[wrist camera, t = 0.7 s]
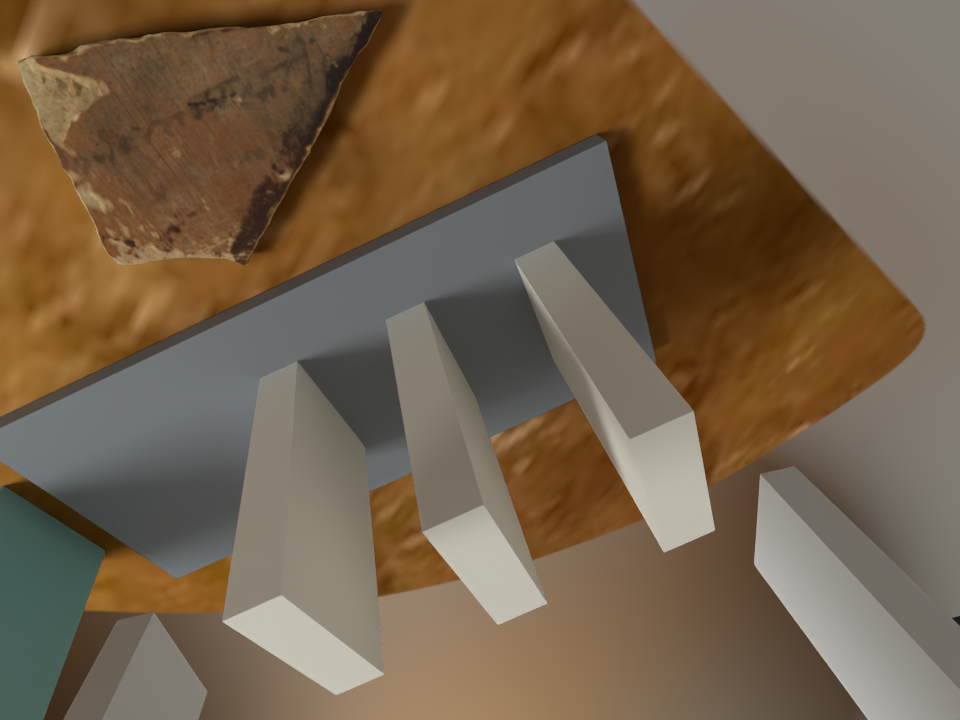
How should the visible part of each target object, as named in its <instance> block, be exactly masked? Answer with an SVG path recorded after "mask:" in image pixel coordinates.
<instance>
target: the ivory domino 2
mask: <svg viewBox="0 0 960 720" xmlns="http://www.w3.org/2000/svg"><path fill="white" fill-rule="evenodd" d="M386 324H387V330H388V336H389V342H390V348H391V353H392V359H393V365H394V371H395V377H396V383H397V388H398V394H399V400H400V406H401V412H402V417H403V423H404V429H405V435H406V441H407V447H408V452H409V458H410V464H411V470H412V476H413V482H414V487H415V493H416V499H417V505H418V511H419V516H420V522H421V528H422V533H423V534H424V535H425V536H426V537H427V539H428V540H429V541H430V542H431V544H432V545H433V546H434V547H435V548H436V550H437V551H438V552H439V553H440V555H441V556H442V557H443V558H444V559H445V561H446V562H447V563H448V564H449V566H450V567H451V568H452V569H453V571H454V572H455V573H456V574H457V575H458V577H459V578H460V579H461V580H462V582H463V583H464V584H465V585H466V586H467V588H468V589H469V590H470V591H471V593H472V594H473V595H474V596H475V597H476V599H477V600H478V601H479V602H480V603H481V605H482V606H483V607H484V608H485V610H486V611H487V612H488V613H489V615H490V616H491V617H492V618H493V620H494V621H495V622H496V623H497V624H498V625H499V624H501V623H503V622H505V621H508V620H510V619H512V618H515V617H517V616H519V615H521V614H524V613H526V612H529V611H531V610H533V609H535V608H538V607H540V606H542V605H545V604H547V601H546V599H545V596H544V593H543V590H542V587H541V584H540V581H539V579H538V576H537V573H536V570H535V567H534V564H533V561H532V558H531V555H530V552H529V550H528V547H527V544H526V541H525V538H524V535H523V532H522V529H521V527H520V524H519V521H518V518H517V515H516V512H515V509H514V506H513V504H512V501H511V498H510V495H509V492H508V489H507V486H506V483H505V481H504V478H503V475H502V472H501V469H500V466H499V463H498V461H497V458H496V455H495V452H494V449H493V446H492V443H491V440H490V438H489V435H488V432H487V429H486V426H485V423H484V420H483V417H482V415H481V412H480V409H479V406H478V403H477V400H476V397H475V395H474V393H473V391H472V390H471V388H470V386H469V384H468V382H467V380H466V378H465V377H464V375H463V373H462V371H461V369H460V367H459V366H458V364H457V362H456V360H455V358H454V356H453V354H452V353H451V351H450V349H449V347H448V345H447V343H446V342H445V340H444V338H443V336H442V334H441V332H440V330H439V329H438V327H437V325H436V323H435V321H434V319H433V318H432V316H431V314H430V312H429V310H428V308H427V306H426V305H425V303H424V302H423V303H421V304H418V305H416V306H414V307H412V308H410V309H408V310H406V311H403V312H401V313H399V314H397V315H395V316H393V317H391V318H388V319H386Z"/></svg>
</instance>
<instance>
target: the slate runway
mask: <svg viewBox="0 0 960 720" xmlns="http://www.w3.org/2000/svg"><path fill="white" fill-rule="evenodd" d="M553 241H554V242H555V243H556V245H557V246H558V247H559V248H560V250H561V251H562V252H563V253H564V254H565V256H566V257H567V258H568V259H569V260H570V262H571V263H572V264H573V265H574V267H575V268H576V269H577V270H578V271H579V273H580V274H581V275H582V276H583V277H584V279H585V280H586V281H587V282H588V284H589V285H590V286H591V287H592V288H593V290H594V291H595V292H596V293H597V294H598V296H599V297H600V298H601V299H602V301H603V302H604V303H605V304H606V305H607V307H608V308H609V309H610V310H611V311H612V313H613V314H614V315H615V316H616V318H617V319H618V320H619V321H620V322H621V324H622V325H623V326H624V327H625V328H626V330H627V331H628V332H629V333H630V334H631V336H632V337H633V338H634V339H635V341H636V342H637V343H638V344H639V345H640V347H641V348H642V349H643V350H644V351H645V353H646V354H647V355H648V356H649V358H650V359H651V360H652V361H653V362H654V363H655V362H656V359H655V355H654V350H653V346H652V341H651V337H650V332H649V328H648V323H647V319H646V315H645V310H644V306H643V301H642V297H641V292H640V288H639V283H638V279H637V275H636V270H635V266H634V261H633V257H632V252H631V248H630V243H629V239H628V235H627V230H626V226H625V221H624V217H623V212H622V208H621V203H620V199H619V195H618V190H617V186H616V181H615V177H614V172H613V168H612V163H611V159H610V155H609V150H608V146H607V141H606V140H605V139H603V138H601V137H600V136H598V135H597V134H596V135H593V136H591V137H589V138H587V139H585V140H583V141H581V142H579V143H577V144H575V145H572V146H570V147H568V148H566V149H564V150H562V151H560V152H558V153H556V154H553V155H551V156H549V157H547V158H545V159H543V160H541V161H539V162H537V163H535V164H532V165H530V166H528V167H526V168H524V169H522V170H520V171H518V172H516V173H514V174H511V175H509V176H507V177H505V178H503V179H501V180H499V181H497V182H495V183H492V184H490V185H488V186H486V187H484V188H482V189H480V190H478V191H476V192H474V193H471V194H469V195H467V196H465V197H463V198H461V199H459V200H457V201H455V202H452V203H450V204H448V205H446V206H444V207H442V208H440V209H438V210H436V211H434V212H431V213H429V214H427V215H425V216H423V217H421V218H419V219H417V220H415V221H413V222H410V223H408V224H406V225H404V226H402V227H400V228H398V229H396V230H394V231H391V232H389V233H387V234H385V235H383V236H381V237H379V238H377V239H375V240H373V241H370V242H368V243H366V244H364V245H362V246H360V247H358V248H356V249H354V250H352V251H349V252H347V253H345V254H343V255H341V256H339V257H337V258H335V259H333V260H330V261H328V262H326V263H324V264H322V265H320V266H318V267H316V268H314V269H312V270H309V271H307V272H305V273H303V274H301V275H299V276H297V277H295V278H293V279H290V280H288V281H286V282H284V283H282V284H280V285H278V286H276V287H274V288H272V289H269V290H267V291H265V292H263V293H261V294H259V295H257V296H255V297H253V298H251V299H248V300H246V301H244V302H242V303H240V304H238V305H236V306H234V307H232V308H229V309H227V310H225V311H223V312H221V313H219V314H217V315H215V316H213V317H211V318H208V319H206V320H204V321H202V322H200V323H198V324H196V325H194V326H192V327H189V328H187V329H185V330H183V331H181V332H179V333H177V334H175V335H173V336H171V337H168V338H166V339H164V340H162V341H160V342H158V343H156V344H154V345H152V346H150V347H147V348H145V349H143V350H141V351H139V352H137V353H135V354H133V355H131V356H128V357H126V358H124V359H122V360H120V361H118V362H116V363H114V364H112V365H110V366H107V367H105V368H103V369H101V370H99V371H97V372H95V373H93V374H91V375H89V376H86V377H84V378H82V379H80V380H78V381H76V382H74V383H72V384H70V385H67V386H65V387H63V388H61V389H59V390H57V391H55V392H53V393H51V394H49V395H46V396H44V397H42V398H40V399H38V400H36V401H34V402H32V403H30V404H27V405H25V406H23V407H21V408H19V409H17V410H15V411H13V412H11V413H9V414H6V415H4V416H2V417H0V461H1V462H2V463H4V464H5V465H7V466H8V467H10V468H11V469H13V470H14V471H16V472H17V473H19V474H20V475H22V476H23V477H25V478H26V479H28V480H29V481H31V482H32V483H34V484H35V485H37V486H38V487H40V488H41V489H43V490H44V491H46V492H47V493H49V494H50V495H52V496H53V497H55V498H56V499H58V500H59V501H61V502H62V503H64V504H65V505H67V506H68V507H70V508H71V509H73V510H74V511H76V512H77V513H79V514H80V515H82V516H83V517H85V518H86V519H88V520H89V521H91V522H92V523H94V524H95V525H97V526H98V527H100V528H101V529H103V530H104V531H106V532H107V533H109V534H110V535H112V536H113V537H115V538H116V539H118V540H119V541H121V542H122V543H124V544H125V545H127V546H128V547H130V548H131V549H133V550H134V551H136V552H137V553H139V554H140V555H142V556H143V557H145V558H146V559H148V560H149V561H151V562H152V563H154V564H155V565H157V566H158V567H160V568H161V569H163V570H164V571H166V572H167V573H169V574H170V575H172V576H173V577H175V578H176V579H178V578H180V577H182V576H184V575H187V574H189V573H191V572H193V571H195V570H198V569H200V568H202V567H204V566H206V565H209V564H211V563H213V562H215V561H218V560H220V559H222V558H224V557H226V556H229V555H231V554H233V549H234V542H235V536H236V529H237V523H238V516H239V510H240V504H241V497H242V491H243V484H244V478H245V471H246V465H247V459H248V452H249V446H250V439H251V433H252V426H253V420H254V414H255V407H256V401H257V394H258V388H259V381H260V378H262V377H264V376H267V375H269V374H271V373H273V372H275V371H277V370H279V369H281V368H284V367H286V366H288V365H290V364H292V363H294V362H296V361H298V363H299V364H300V365H301V366H302V368H303V369H304V370H305V371H306V373H307V374H308V375H309V376H310V378H311V379H312V380H313V381H314V383H315V384H316V385H317V386H318V388H319V389H320V390H321V392H322V393H323V394H324V395H325V397H326V398H327V399H328V400H329V402H330V403H331V404H332V405H333V407H334V408H335V409H336V410H337V412H338V413H339V414H340V416H341V417H342V418H343V419H344V421H345V422H346V423H347V424H348V426H349V427H350V428H351V429H352V431H353V432H354V433H355V434H356V436H357V437H358V438H359V439H360V441H361V442H362V443H363V445H364V446H365V451H366V463H367V474H368V486H369V492H370V491H372V490H374V489H377V488H379V487H381V486H383V485H385V484H388V483H390V482H392V481H394V480H396V479H399V478H401V477H403V476H405V475H408V474H410V473H412V470H411V464H410V458H409V452H408V447H407V441H406V435H405V429H404V423H403V417H402V412H401V406H400V400H399V394H398V388H397V383H396V377H395V371H394V365H393V359H392V353H391V348H390V342H389V336H388V330H387V324H386V319H388V318H391V317H393V316H395V315H397V314H399V313H401V312H403V311H406V310H408V309H410V308H412V307H414V306H416V305H418V304H421V303H423V302H424V303H425V305H426V306H427V308H428V310H429V312H430V314H431V316H432V318H433V319H434V321H435V323H436V325H437V327H438V329H439V330H440V332H441V334H442V336H443V338H444V340H445V342H446V343H447V345H448V347H449V349H450V351H451V353H452V354H453V356H454V358H455V360H456V362H457V364H458V366H459V367H460V369H461V371H462V373H463V375H464V377H465V378H466V380H467V382H468V384H469V386H470V388H471V390H472V391H473V393H474V395H475V397H476V400H477V403H478V406H479V409H480V412H481V415H482V417H483V420H484V423H485V426H486V429H487V432H488V435H489V437H491V436H494V435H496V434H498V433H500V432H503V431H505V430H507V429H509V428H511V427H514V426H516V425H518V424H520V423H522V422H525V421H527V420H529V419H531V418H533V417H536V416H538V415H540V414H542V413H545V412H547V411H549V410H551V409H553V408H556V407H558V406H560V405H562V404H564V403H567V402H569V401H571V400H573V399H575V397H574V395H573V394H572V392H571V390H570V388H569V387H568V385H567V383H566V381H565V380H564V378H563V376H562V374H561V373H560V371H559V369H558V367H557V366H556V364H555V362H554V361H553V358H552V355H551V353H550V350H549V348H548V345H547V342H546V340H545V337H544V335H543V332H542V330H541V327H540V324H539V322H538V319H537V317H536V314H535V311H534V309H533V306H532V304H531V301H530V298H529V296H528V293H527V291H526V288H525V286H524V283H523V280H522V278H521V275H520V273H519V270H518V267H517V265H516V262H515V259H517V258H519V257H521V256H523V255H525V254H527V253H530V252H532V251H534V250H536V249H538V248H540V247H542V246H545V245H547V244H549V243H551V242H553Z"/></svg>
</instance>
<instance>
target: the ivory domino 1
mask: <svg viewBox="0 0 960 720" xmlns="http://www.w3.org/2000/svg"><path fill="white" fill-rule="evenodd" d="M222 621H223V622H224V623H225V624H227V625H228V626H230V627H231V628H233V629H235V630H236V631H238V632H239V633H241V634H242V635H244V636H246V637H247V638H248V639H250V640H252V641H253V642H255V643H256V644H258V645H259V646H261V647H263V648H264V649H266V650H267V651H269V652H270V653H272V654H273V655H275V656H276V657H278V658H280V659H281V660H283V661H284V662H286V663H287V664H289V665H290V666H292V667H293V668H295V669H297V670H298V671H300V672H301V673H303V674H304V675H306V676H307V677H309V678H311V679H312V680H314V681H315V682H317V683H318V684H320V685H321V686H323V687H325V688H326V689H328V690H329V691H331V692H332V693H334V694H335V695H338V694H340V693H342V692H345V691H347V690H349V689H352V688H354V687H356V686H359V685H361V684H363V683H365V682H368V681H370V680H372V679H375V678H377V677H379V676H382V675H384V666H383V653H382V641H381V629H380V617H379V605H378V593H377V581H376V569H375V558H374V546H373V534H372V522H371V510H370V498H369V486H368V474H367V463H366V451H365V446H364V445H363V443H362V442H361V441H360V439H359V438H358V437H357V436H356V434H355V433H354V432H353V431H352V429H351V428H350V427H349V426H348V424H347V423H346V422H345V421H344V419H343V418H342V417H341V416H340V414H339V413H338V412H337V410H336V409H335V408H334V407H333V405H332V404H331V403H330V402H329V400H328V399H327V398H326V397H325V395H324V394H323V393H322V392H321V390H320V389H319V388H318V386H317V385H316V384H315V383H314V381H313V380H312V379H311V378H310V376H309V375H308V374H307V373H306V371H305V370H304V369H303V368H302V366H301V365H300V364H299V363H298V361H296V362H294V363H292V364H290V365H288V366H286V367H284V368H281V369H279V370H277V371H275V372H273V373H271V374H269V375H267V376H264V377H262V378H260V381H259V388H258V394H257V401H256V407H255V414H254V420H253V426H252V433H251V439H250V446H249V452H248V459H247V465H246V471H245V478H244V484H243V491H242V497H241V504H240V510H239V516H238V523H237V529H236V536H235V542H234V549H233V555H232V562H231V568H230V574H229V581H228V587H227V594H226V600H225V607H224V613H223V620H222Z"/></svg>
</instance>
